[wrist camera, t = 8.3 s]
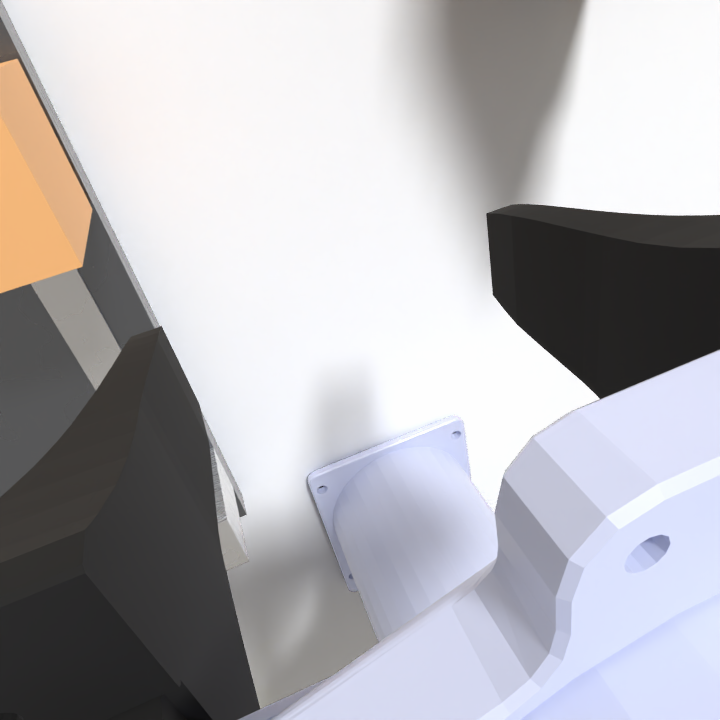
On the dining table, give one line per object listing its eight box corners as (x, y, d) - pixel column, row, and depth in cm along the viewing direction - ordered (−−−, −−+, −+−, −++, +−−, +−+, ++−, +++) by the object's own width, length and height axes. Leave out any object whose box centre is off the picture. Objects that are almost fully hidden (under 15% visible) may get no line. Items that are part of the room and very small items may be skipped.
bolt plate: (242, 495, 26) (267, 606, 22) (44, 575, 25) (24, 711, 20) (-28, -58, 14) (-107, -88, 10) (-439, 36, 13) (-776, 58, 8)
